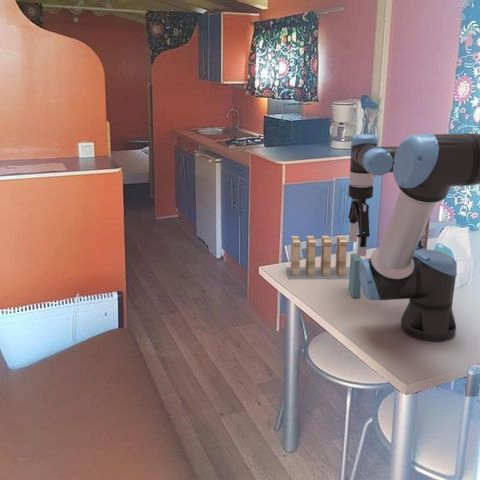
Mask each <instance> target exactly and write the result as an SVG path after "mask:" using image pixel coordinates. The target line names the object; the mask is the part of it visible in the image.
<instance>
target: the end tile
mask: <svg viewBox="0 0 480 480" xmlns="http://www.w3.org/2000/svg"><path fill="white" fill-rule="evenodd" d="M361 257H362V256H357V252H356V253H350V261H349V267H350V275H349V279H348V290H349V292H350V294H351V297H352V299H360V298H361V291H362V288H361V284H360V277H359V264H360V261H361V260H362V259H363V258H361Z"/></svg>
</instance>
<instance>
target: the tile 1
mask: <svg viewBox="0 0 480 480" xmlns="http://www.w3.org/2000/svg"><path fill="white" fill-rule="evenodd" d="M290 243H291V244H290V245H291V247H290V267H291V273H292V277H299V268H300V267H301V266H300V264H301V261H300V260H301V241H300V237H299V236H298V235H291V242H290Z"/></svg>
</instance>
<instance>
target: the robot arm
mask: <svg viewBox="0 0 480 480" xmlns="http://www.w3.org/2000/svg"><path fill="white" fill-rule="evenodd" d="M351 138H352V139H351V145H350V162H349V163H350V165H349V178H348V182H349V185H348V192H347V193H348V194H347V195H348V197H349V198H351V203H350V206H349V207H350V208H349V212H348V216H347V218H348V221H349V228H348V242H349V243H357V248H356V253H357V256H360V257H366V255H367V244H368V238H369V237H370V217H369V214H370V213H369V210H370V205H369V204H368V203H366V202H367V200H369V199H372V198H373V196H374V186H373V184H374V180H375V179H374V178H375V177H376V176H377V177H378V176H379V177H380V176H384V175H386V174H387V173H393V178H394V181H395V183H396V185H397V187H398V190H399V191H400V192H399V193H398V197H397V200H396V203H395V205H394V208H393V211H392V213H391V217H390V219H389V223H388V225H387V227H386V231H385V233H384V237H383V239H382V242H381V245H380V246H378V247H376V248H375V249H374V250H373V251H372V253H371V256H370V258H367V257H366V258H361V259H362V260H361V261H360V264H359V277H360V284H361V291H362V294H363V295H364V297H365V298H366V300H369V301H379V302H381V301H391V300H408V299H409V300H408V303H407V305H406V308H405V310H404V311H403V313H402V316H401V319H400V330H402V331H403V332H404V333H405V334H406V335H408V336H411V337H412V338H415V339H418V340H422V341H427V342H443V341H448V340H451V339H452V338H454V337H455V335H456V332H457V331H456V330H457V324H456V320H455V316H454V311H453V300H454V294H455V287H456V286H455V285H456V279H457V276H458V271H457V268H458V267H457V260H456V259H455V258H454V257H453V256H451V255H449V254H447V253H445V252H441V251H437V250H434V249H428V248H427V249H418V250H416V248H417V246H418V244H419V241H420V239H421V237H422V234H423V232H424V230H425V227H426V225H427V223H428V220H429V218H430V219H431V215H432V213H433V210H434V209H435V206H436V204H437V203H439V202H442V201H443V200H445V198H447V196H448V193H449V191H450V189H451V188H452V187H464V186H466V187H467V186H468V187H469V186H475V185H480V133H472V132H471V133H470V132H468V133H462V132H461V133H440V134H439V133H437V134H434V133H428V132H427V133H426V132H424V133H421V134H411V135H408V136H407V137H405V138H404V139H402V141H401V142H400V143H399V145H397V146H395V145H394V146H378V139H377V136H376V135H373V134H365V133H364V134H362V133H361V134H354V135H353V136H352V137H351ZM413 256H414V257H413Z"/></svg>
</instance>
